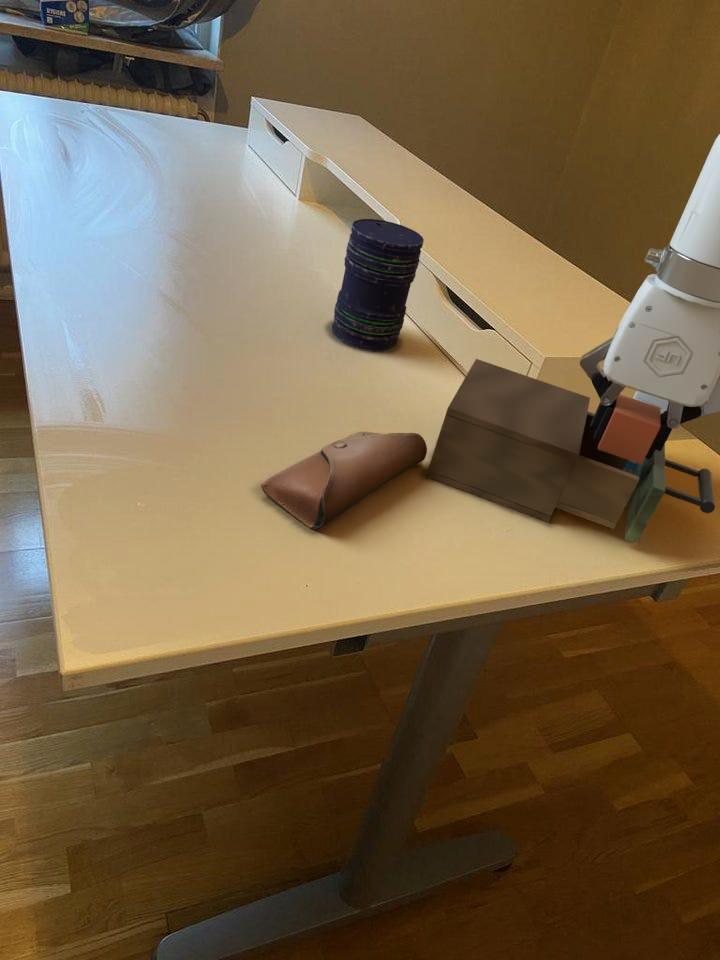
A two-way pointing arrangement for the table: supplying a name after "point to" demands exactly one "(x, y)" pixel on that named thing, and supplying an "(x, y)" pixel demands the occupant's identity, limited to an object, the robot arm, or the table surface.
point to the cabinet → (510, 439)
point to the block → (631, 429)
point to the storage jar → (376, 284)
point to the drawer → (625, 487)
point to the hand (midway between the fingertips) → (622, 442)
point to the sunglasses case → (343, 475)
